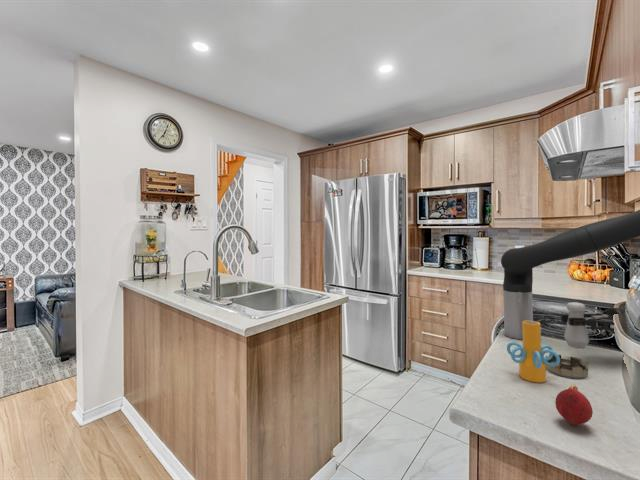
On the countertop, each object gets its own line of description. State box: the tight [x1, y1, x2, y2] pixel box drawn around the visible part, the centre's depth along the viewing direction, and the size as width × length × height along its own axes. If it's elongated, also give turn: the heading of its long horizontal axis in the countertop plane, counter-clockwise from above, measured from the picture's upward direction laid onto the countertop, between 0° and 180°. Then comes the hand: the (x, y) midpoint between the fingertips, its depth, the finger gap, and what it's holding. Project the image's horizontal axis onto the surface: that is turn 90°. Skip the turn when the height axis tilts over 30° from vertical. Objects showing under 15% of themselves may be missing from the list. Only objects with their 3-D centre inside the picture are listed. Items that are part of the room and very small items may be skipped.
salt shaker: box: [563, 301, 590, 350], centre depth 92 cm, size 6×6×13 cm
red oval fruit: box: [554, 384, 593, 427], centre depth 62 cm, size 6×6×8 cm
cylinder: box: [506, 320, 560, 384], centre depth 83 cm, size 12×10×15 cm
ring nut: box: [544, 354, 589, 380], centre depth 86 cm, size 9×9×3 cm
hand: (565, 319), depth 92 cm, fingers closed on salt shaker, 3 cm apart
